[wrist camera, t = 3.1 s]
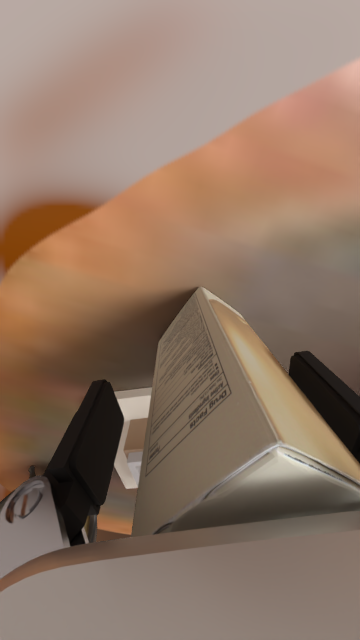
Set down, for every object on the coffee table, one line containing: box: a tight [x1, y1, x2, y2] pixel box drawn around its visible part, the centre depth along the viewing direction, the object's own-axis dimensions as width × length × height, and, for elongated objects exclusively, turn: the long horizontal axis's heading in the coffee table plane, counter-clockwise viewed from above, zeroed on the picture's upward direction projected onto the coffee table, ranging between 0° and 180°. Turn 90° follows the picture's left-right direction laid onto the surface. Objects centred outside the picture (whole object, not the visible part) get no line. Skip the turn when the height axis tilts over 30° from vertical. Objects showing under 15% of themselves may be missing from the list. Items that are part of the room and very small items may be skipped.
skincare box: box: [131, 287, 360, 537], centre depth 11 cm, size 6×4×12 cm
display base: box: [114, 387, 152, 489], centre depth 20 cm, size 18×16×5 cm
